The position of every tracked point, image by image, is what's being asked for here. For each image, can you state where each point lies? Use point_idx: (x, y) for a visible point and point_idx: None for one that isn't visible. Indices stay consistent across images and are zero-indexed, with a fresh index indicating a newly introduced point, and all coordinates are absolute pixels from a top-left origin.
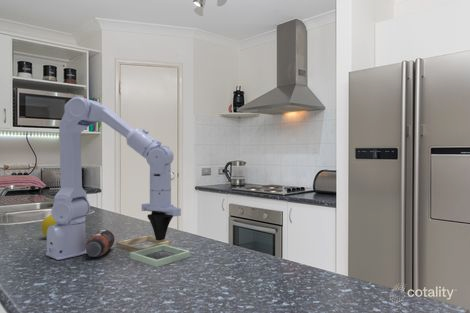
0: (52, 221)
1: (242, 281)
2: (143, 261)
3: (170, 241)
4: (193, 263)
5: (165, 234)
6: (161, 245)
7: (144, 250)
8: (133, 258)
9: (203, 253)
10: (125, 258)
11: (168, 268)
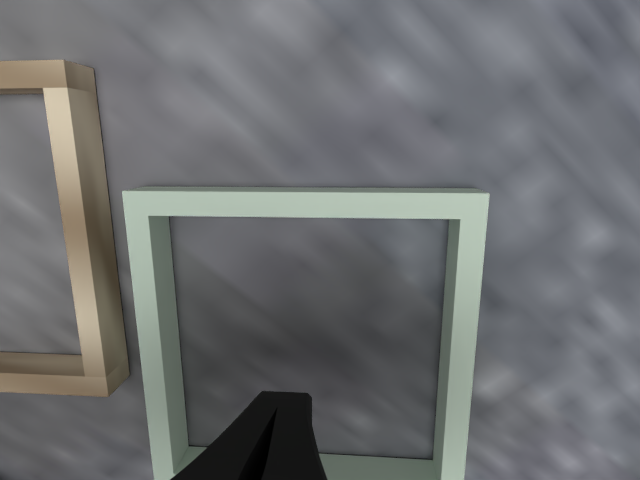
0: None
1: None
2: None
3: (66, 66)
4: (611, 290)
5: (310, 422)
6: (143, 228)
7: (167, 392)
8: None
9: (502, 39)
10: None
11: (533, 453)
